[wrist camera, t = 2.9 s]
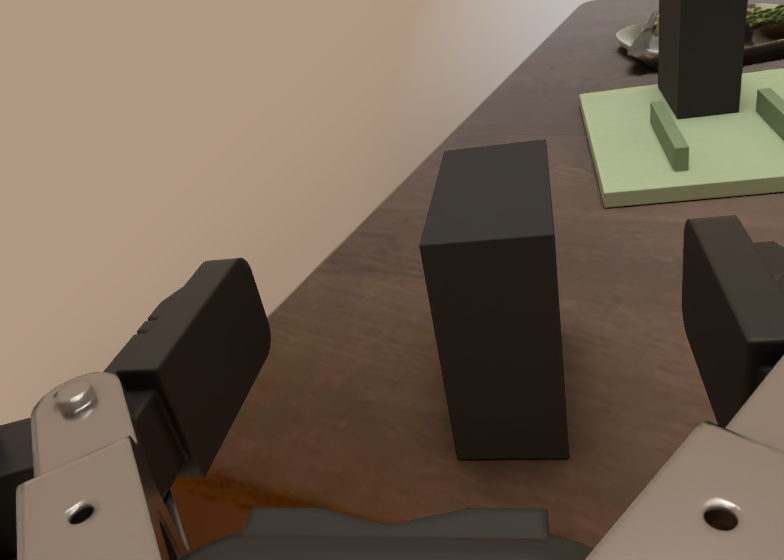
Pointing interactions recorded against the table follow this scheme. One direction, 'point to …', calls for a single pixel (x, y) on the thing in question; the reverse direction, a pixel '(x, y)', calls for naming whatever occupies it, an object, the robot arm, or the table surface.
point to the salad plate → (762, 42)
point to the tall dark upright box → (497, 301)
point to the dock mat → (691, 116)
